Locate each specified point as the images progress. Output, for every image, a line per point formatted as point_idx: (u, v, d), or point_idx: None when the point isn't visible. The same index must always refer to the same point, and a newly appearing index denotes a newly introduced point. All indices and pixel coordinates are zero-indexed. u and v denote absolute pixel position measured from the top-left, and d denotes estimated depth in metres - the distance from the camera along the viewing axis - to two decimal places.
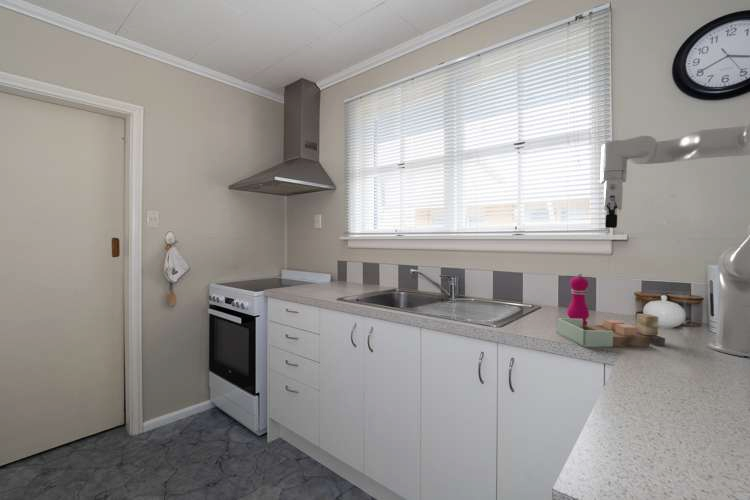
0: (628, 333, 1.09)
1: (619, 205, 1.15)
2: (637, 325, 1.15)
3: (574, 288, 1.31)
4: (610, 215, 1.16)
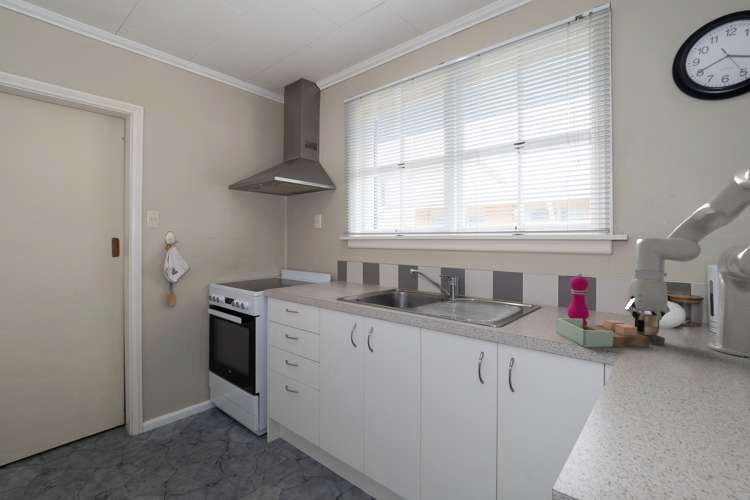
0: (628, 333, 1.09)
1: None
2: None
3: (574, 288, 1.31)
4: None
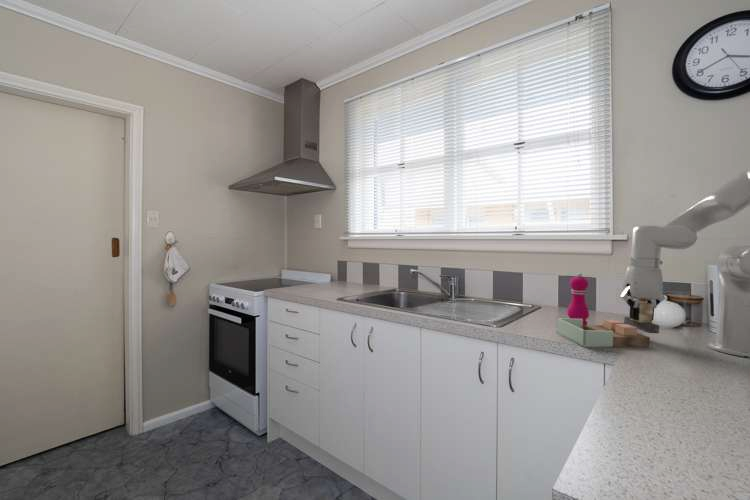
0: (628, 333, 1.09)
1: None
2: None
3: (574, 288, 1.31)
4: None
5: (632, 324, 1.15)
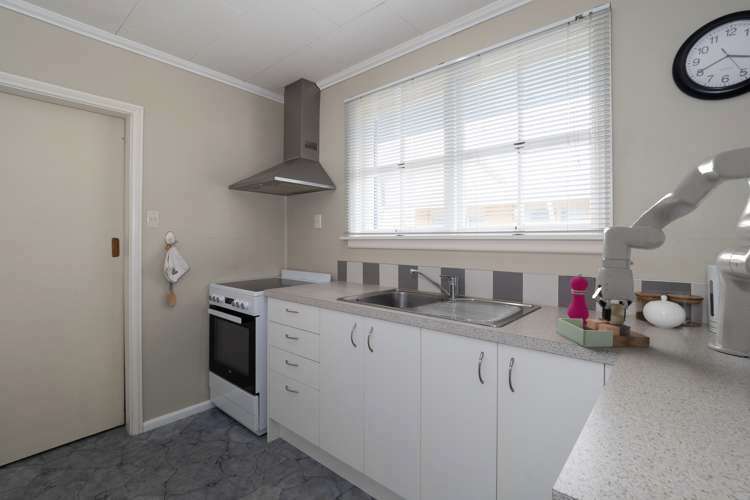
0: None
1: None
2: None
3: (574, 288, 1.31)
4: None
5: None
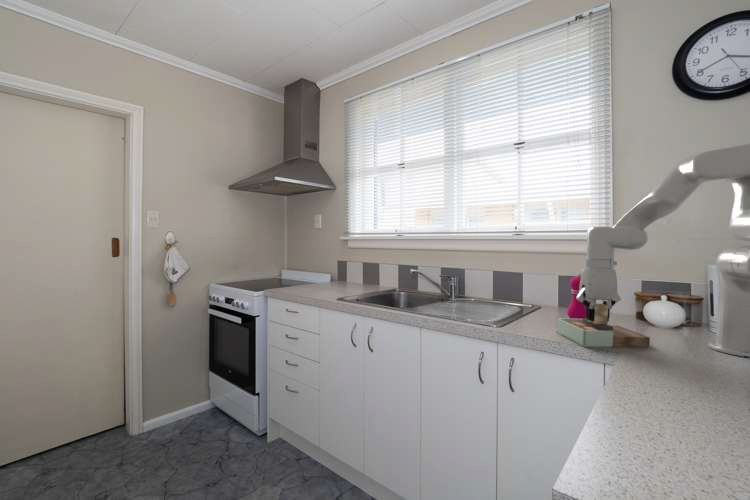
0: None
1: None
2: None
3: (574, 288, 1.31)
4: None
5: (589, 326, 1.15)
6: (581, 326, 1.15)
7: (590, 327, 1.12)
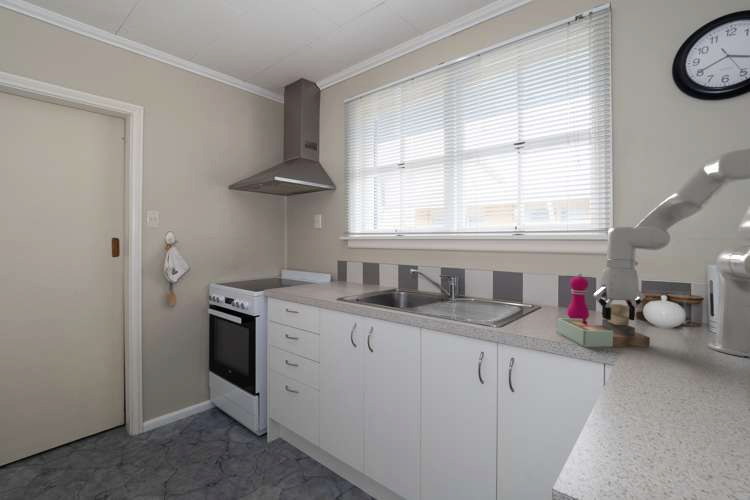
0: None
1: None
2: None
3: (574, 288, 1.31)
4: None
5: (609, 326, 1.15)
6: (581, 326, 1.15)
7: (590, 327, 1.12)
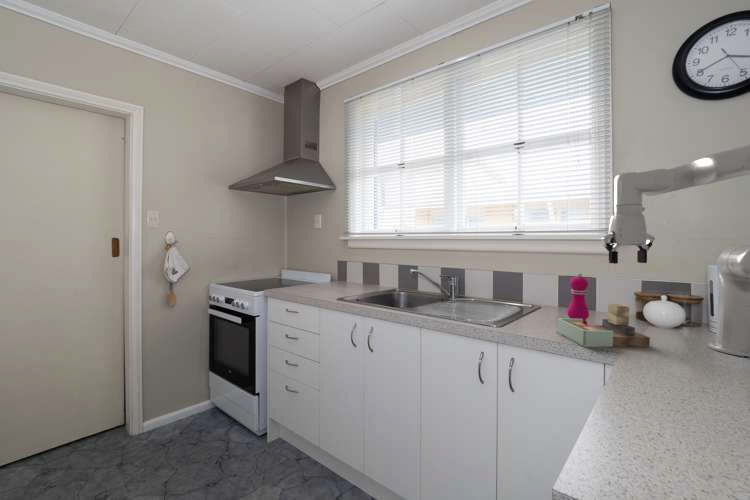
0: None
1: None
2: (609, 315, 1.15)
3: (574, 288, 1.31)
4: None
5: (609, 326, 1.15)
6: (581, 326, 1.15)
7: (590, 327, 1.12)
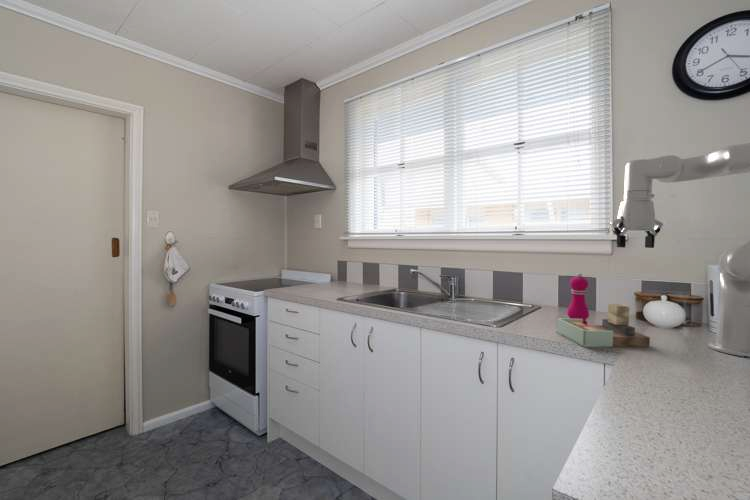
0: None
1: None
2: (609, 315, 1.15)
3: (574, 288, 1.31)
4: None
5: (609, 326, 1.15)
6: (581, 326, 1.15)
7: (590, 327, 1.12)
